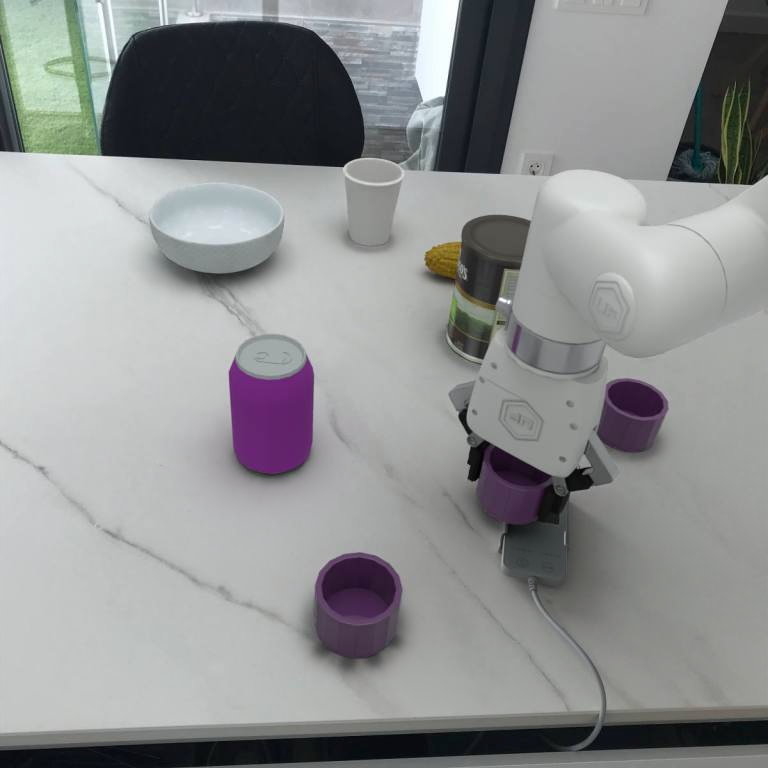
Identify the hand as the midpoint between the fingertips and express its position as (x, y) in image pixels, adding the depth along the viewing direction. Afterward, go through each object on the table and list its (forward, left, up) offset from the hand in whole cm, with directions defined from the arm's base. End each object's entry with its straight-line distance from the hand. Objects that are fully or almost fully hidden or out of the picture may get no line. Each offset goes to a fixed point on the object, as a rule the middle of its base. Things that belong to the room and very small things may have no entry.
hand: (513, 491), depth 71 cm
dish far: (+9, -16, -3) cm, 19 cm away
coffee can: (+26, -6, -3) cm, 27 cm away
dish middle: (0, 0, -1) cm, 1 cm away
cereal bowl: (+47, +25, -3) cm, 54 cm away
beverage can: (+10, +21, -3) cm, 24 cm away
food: (+39, -12, -3) cm, 41 cm away
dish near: (-10, +16, -3) cm, 19 cm away
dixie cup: (+52, +4, -3) cm, 53 cm away
